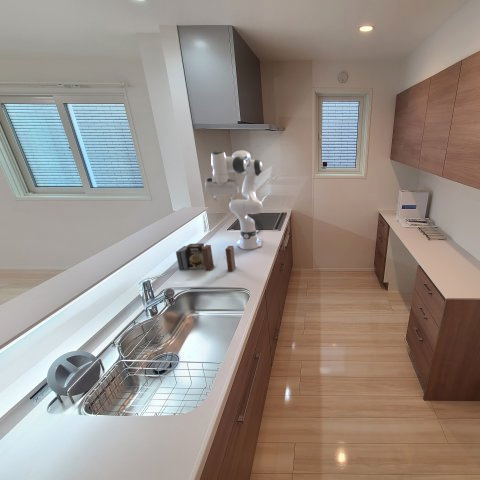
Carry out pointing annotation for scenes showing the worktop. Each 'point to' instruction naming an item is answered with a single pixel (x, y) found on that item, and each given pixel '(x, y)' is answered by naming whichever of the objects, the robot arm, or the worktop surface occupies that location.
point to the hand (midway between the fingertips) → (223, 200)
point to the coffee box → (196, 256)
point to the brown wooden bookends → (209, 259)
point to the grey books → (183, 258)
